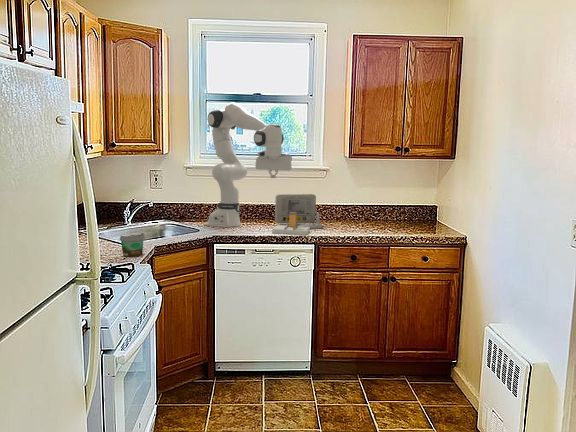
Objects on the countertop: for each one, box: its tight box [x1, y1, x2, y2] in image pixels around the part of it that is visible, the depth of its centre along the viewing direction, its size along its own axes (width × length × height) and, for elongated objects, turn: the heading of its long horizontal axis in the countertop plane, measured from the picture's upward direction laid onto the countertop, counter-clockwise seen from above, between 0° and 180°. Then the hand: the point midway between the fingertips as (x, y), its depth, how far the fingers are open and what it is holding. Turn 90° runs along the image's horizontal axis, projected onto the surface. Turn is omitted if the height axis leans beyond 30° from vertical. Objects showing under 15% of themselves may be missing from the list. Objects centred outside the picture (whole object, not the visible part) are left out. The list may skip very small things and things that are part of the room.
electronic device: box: [299, 211, 323, 230], centre depth 343 cm, size 5×10×15 cm
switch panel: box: [271, 224, 311, 236], centre depth 327 cm, size 20×14×3 cm
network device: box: [274, 193, 317, 226], centre depth 350 cm, size 26×9×20 cm, turn 105°
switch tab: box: [288, 212, 297, 227], centre depth 331 cm, size 4×3×8 cm
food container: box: [119, 232, 146, 258], centre depth 256 cm, size 12×6×10 cm, turn 138°
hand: (273, 178), depth 309 cm, fingers closed
